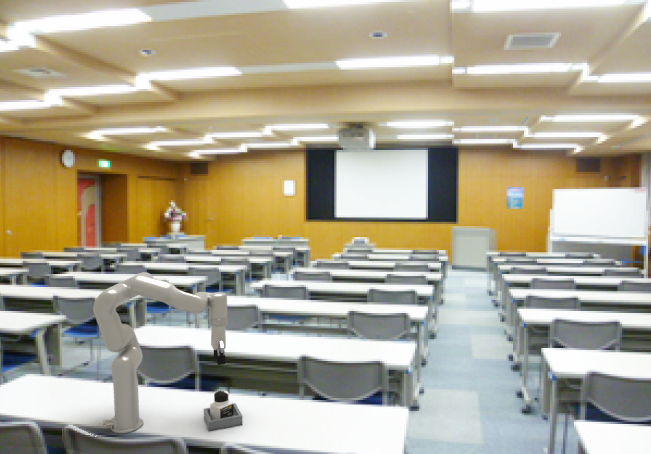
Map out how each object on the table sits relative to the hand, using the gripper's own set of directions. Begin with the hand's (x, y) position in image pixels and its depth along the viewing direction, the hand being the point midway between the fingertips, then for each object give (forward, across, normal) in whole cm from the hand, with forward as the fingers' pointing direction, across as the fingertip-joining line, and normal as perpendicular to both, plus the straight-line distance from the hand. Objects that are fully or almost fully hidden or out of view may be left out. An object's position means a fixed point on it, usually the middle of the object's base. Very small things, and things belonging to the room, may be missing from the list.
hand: (219, 360), depth 205 cm
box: (+26, +1, +1) cm, 26 cm away
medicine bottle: (+26, +1, 0) cm, 26 cm away
